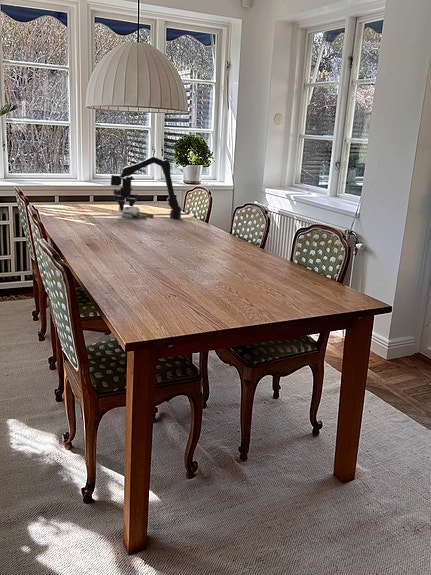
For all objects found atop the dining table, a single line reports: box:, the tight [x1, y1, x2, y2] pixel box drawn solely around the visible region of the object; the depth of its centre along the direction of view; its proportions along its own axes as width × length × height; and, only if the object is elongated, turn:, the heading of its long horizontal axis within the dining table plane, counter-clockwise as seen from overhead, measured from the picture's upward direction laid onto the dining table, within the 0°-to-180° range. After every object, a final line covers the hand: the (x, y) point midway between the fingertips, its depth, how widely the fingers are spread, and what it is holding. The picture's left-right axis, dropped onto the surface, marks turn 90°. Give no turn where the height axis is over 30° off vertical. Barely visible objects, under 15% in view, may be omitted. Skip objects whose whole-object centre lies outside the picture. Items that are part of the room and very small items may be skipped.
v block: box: [121, 213, 138, 220], centre depth 347 cm, size 8×6×3 cm
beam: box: [120, 211, 154, 220], centre depth 353 cm, size 22×9×3 cm, turn 61°
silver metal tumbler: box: [118, 204, 141, 216], centre depth 346 cm, size 13×6×6 cm, turn 61°
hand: (126, 210), depth 348 cm, fingers open, 9 cm apart
